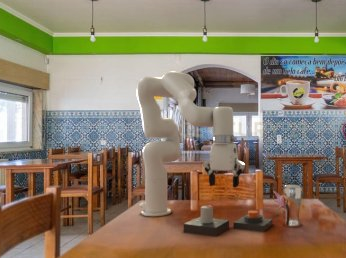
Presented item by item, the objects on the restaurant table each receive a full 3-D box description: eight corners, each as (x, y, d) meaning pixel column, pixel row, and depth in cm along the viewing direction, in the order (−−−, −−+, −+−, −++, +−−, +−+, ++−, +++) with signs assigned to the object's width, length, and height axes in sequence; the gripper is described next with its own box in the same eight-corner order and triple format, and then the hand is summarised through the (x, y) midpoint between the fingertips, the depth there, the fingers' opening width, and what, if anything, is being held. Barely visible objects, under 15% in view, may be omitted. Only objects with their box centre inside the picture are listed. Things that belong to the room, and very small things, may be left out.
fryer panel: (183, 232, 127) (183, 223, 127) (199, 224, 137) (199, 216, 137) (215, 236, 122) (215, 227, 122) (229, 228, 132) (229, 219, 132)
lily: (295, 221, 146) (302, 199, 149) (268, 210, 146) (276, 188, 149) (287, 222, 157) (294, 202, 161) (263, 212, 157) (270, 192, 160)
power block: (233, 228, 132) (233, 217, 132) (243, 221, 141) (243, 211, 141) (263, 231, 127) (263, 220, 127) (272, 224, 136) (272, 214, 136)
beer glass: (301, 227, 132) (300, 187, 132) (282, 226, 134) (282, 187, 134) (301, 222, 139) (301, 184, 139) (283, 222, 141) (283, 184, 141)
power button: (246, 217, 133) (246, 212, 133) (250, 215, 137) (250, 210, 137) (256, 218, 132) (256, 213, 132) (260, 216, 135) (260, 211, 135)
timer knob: (198, 222, 129) (198, 206, 129) (204, 219, 133) (204, 204, 133) (209, 223, 127) (209, 207, 127) (214, 221, 131) (214, 205, 131)
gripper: (248, 139, 131) (249, 185, 131) (208, 139, 138) (208, 183, 138) (240, 140, 124) (240, 189, 124) (198, 140, 131) (198, 186, 131)
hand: (223, 186), depth 131 cm, fingers open, 9 cm apart
